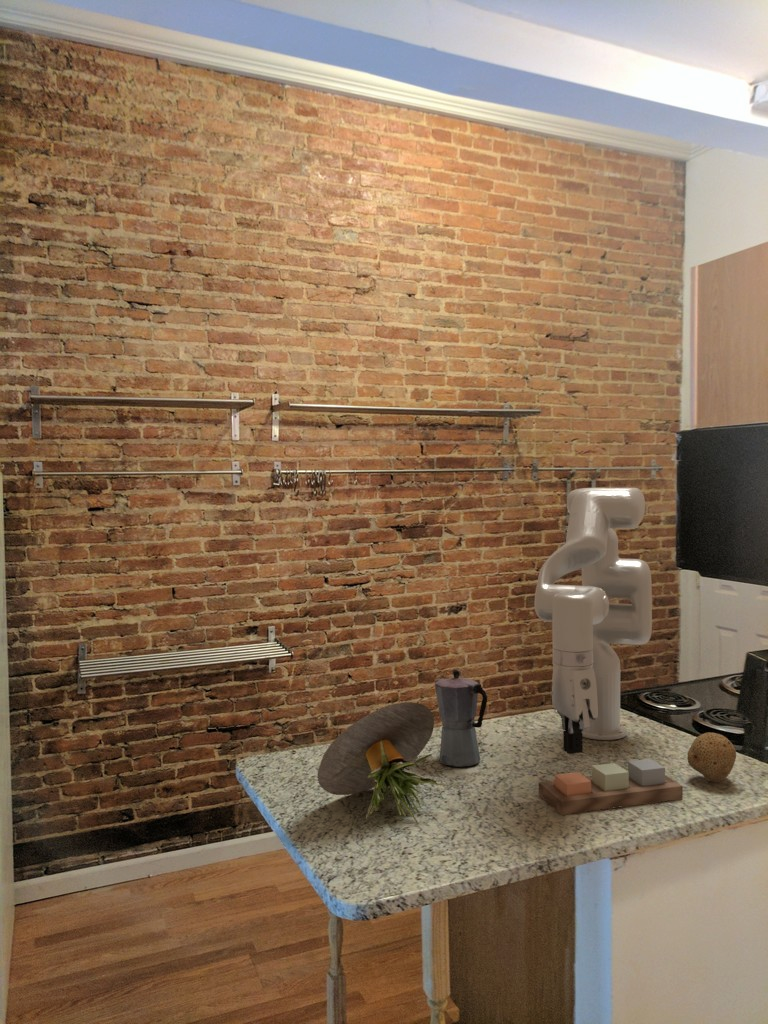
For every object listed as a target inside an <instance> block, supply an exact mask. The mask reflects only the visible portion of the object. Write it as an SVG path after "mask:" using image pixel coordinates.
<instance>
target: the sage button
mask: <svg viewBox="0 0 768 1024" xmlns="http://www.w3.org/2000/svg"><path fill="white" fill-rule="evenodd" d="M591 776H592V782H593V783H594V784H595V785H597V786H598V787H600V788H601V789H602V790H604V791H610V790H618V789H626V788H629V772H628V770H626V769H624V768H623V767H621V766H620V765H619V764H617V763H615V762H613V763H603V764H596V765H591Z"/></svg>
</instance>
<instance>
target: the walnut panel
mask: <svg viewBox="0 0 768 1024" xmlns="http://www.w3.org/2000/svg"><path fill="white" fill-rule="evenodd" d="M584 777H585V778H587V779H588V780H590V781H591V793H587V794H579V795H572V796H566V795H565V794H563V793H562V792H561V791H560V790H558V789H557V788H556V787H555V779H554V780H553V779H552V780H546V781H538V796H540V798H542V799H543V800H544V801H545V802H546V803H547V804H549V805H550V806H551V807H552V808H553V809H554V810H556V811H557V812H558V813H559V814H560V815H562V816H565V815H571V814H578V813H579V814H580V813H586V812H587V811H588V812H592V811H591V810H595V811H601V810H600V809H602V810H608V809H607V808H610V809H614V808H613V807H617V808H620V807H619V806H625V807H630V806H629V805H632V806H638V805H637V804H639V805H645V804H646V803H647V804H653V803H652V802H654V803H660V802H661V801H662V802H667V801H666V800H669V801H675V800H674V799H676V800H682V799H681V798H683V795H684V794H683V789H684V788H683V785H682V784H680V783H678V782H677V781H675V780H673V779H672V778H670V777H669V776H667V775H665V784H657V785H649V786H640V785H639V784H637V783H636V782H634V781H633V780H631V779H630V778H629V788H626V789H618V790H610V791H604V790H602V789H601V788H600V787H598V786H597V785H595V784H594V783H593V782H592V775H587V776H584ZM647 804H646V805H647Z"/></svg>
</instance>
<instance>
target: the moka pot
mask: <svg viewBox="0 0 768 1024" xmlns="http://www.w3.org/2000/svg"><path fill="white" fill-rule="evenodd" d="M460 672H461V671H459V670H457V669H455V670H453V671H452V674H453V677H449V678H438V679H436V680H435V683H434V687H435V693H436V700H437V707H438V713H439V717H440V718H441V725H442V727H441V738H440V748H439V761H440V763H441V764H443V765H444V766H445V765H446V766H449V767H470V766H475V765H477V764H478V763H479V762H480V761H481V756H480V749H479V743H478V737H477V731H476V728H482V726H483V720H484V716H485V711H486V708H487V704H488V695H487V692H486V691H485V690H484V689H483V687H482V684H481V683H480V684H479V682H477V681H475V680H473V679H469V678H463V677H460ZM479 694H480V695H481V696H482V699H481V703H480V709H479V712H478V715H479V717H478V719H477V722H475V717H476V716H477V709H478V708H477V707H478V697H479Z"/></svg>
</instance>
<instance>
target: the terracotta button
mask: <svg viewBox="0 0 768 1024" xmlns="http://www.w3.org/2000/svg"><path fill="white" fill-rule="evenodd" d="M585 777H586V776H584V775H583V774H581V773H580V772H579V771H575V772H569V773H568V772H567V773H559V774H554V780H555V787H556V788H557V789H558V790H560V791H561V792H562V793H563V794H565V795H566V796H572V795H579V794H587V793H591V781H590V780H588V779H587V778H585Z"/></svg>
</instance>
